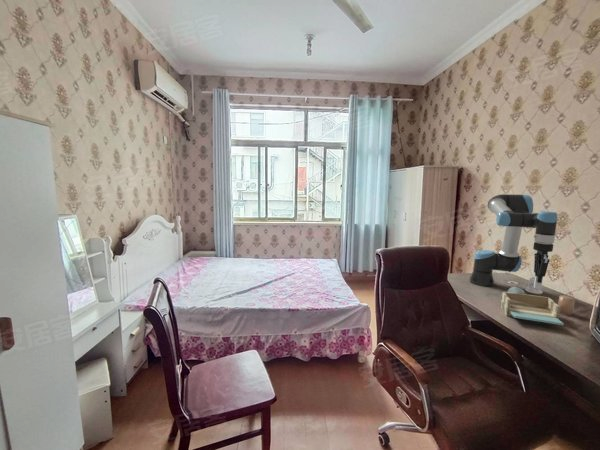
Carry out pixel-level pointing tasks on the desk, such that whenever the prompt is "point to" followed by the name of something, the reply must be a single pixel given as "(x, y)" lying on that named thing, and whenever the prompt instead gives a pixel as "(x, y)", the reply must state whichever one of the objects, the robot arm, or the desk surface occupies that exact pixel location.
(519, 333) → the desk surface
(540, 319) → the cabinet door
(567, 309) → the brown egg
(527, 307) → the crate
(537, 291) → the figurine
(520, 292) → the spool
